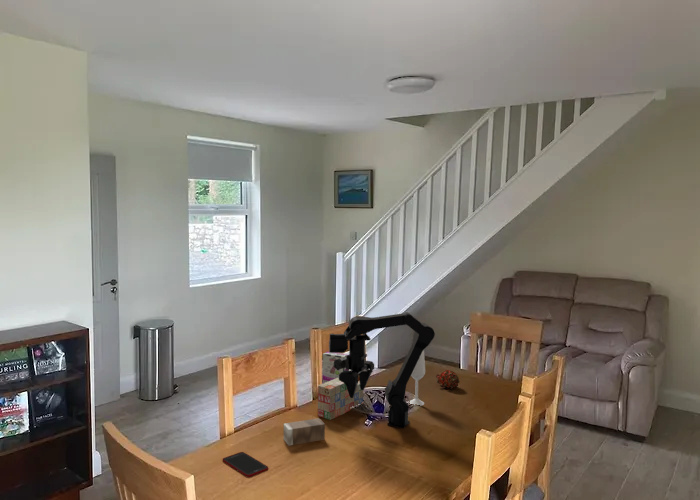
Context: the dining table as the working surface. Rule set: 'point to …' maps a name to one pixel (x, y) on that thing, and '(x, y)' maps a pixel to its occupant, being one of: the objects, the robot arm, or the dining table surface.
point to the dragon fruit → (448, 379)
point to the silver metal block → (304, 431)
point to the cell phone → (245, 464)
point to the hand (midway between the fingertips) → (357, 393)
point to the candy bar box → (331, 366)
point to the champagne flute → (418, 377)
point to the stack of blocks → (336, 399)
